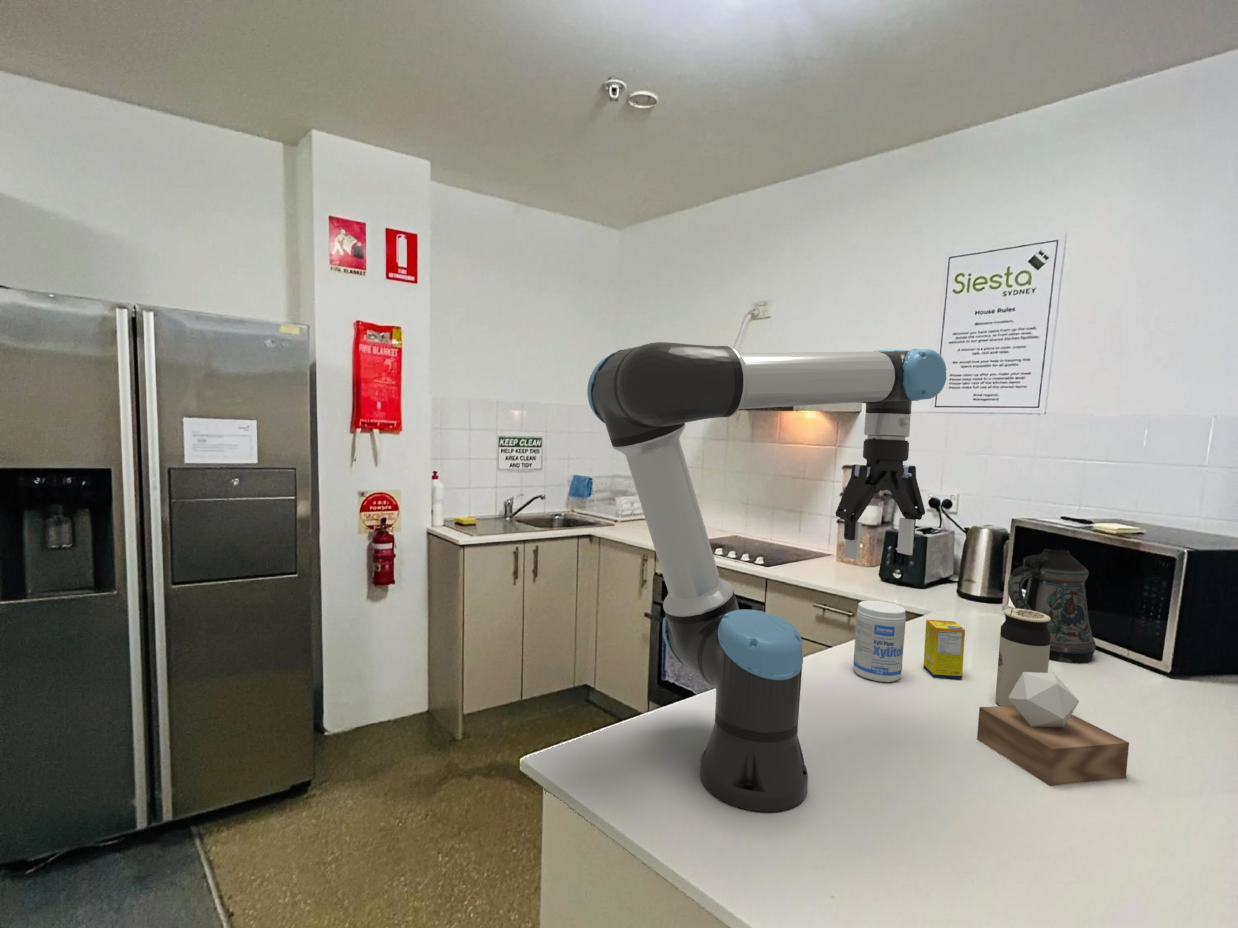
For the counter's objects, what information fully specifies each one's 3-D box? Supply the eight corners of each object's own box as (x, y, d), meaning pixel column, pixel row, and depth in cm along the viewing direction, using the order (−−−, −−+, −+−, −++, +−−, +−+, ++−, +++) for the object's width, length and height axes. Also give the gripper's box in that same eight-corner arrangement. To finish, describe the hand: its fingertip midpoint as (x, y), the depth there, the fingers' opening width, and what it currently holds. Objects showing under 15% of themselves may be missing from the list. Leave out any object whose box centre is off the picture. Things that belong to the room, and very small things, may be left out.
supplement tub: (876, 686, 129) (881, 614, 128) (842, 668, 137) (847, 601, 136) (912, 680, 132) (916, 610, 131) (877, 663, 141) (881, 598, 140)
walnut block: (1049, 788, 94) (1052, 748, 93) (976, 741, 107) (979, 707, 107) (1125, 780, 97) (1129, 742, 97) (1045, 736, 111) (1048, 702, 110)
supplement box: (950, 669, 139) (954, 620, 139) (962, 680, 134) (966, 628, 133) (922, 667, 140) (925, 618, 139) (932, 678, 134) (936, 626, 133)
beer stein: (1106, 656, 152) (1115, 552, 150) (1071, 671, 141) (1081, 559, 140) (1030, 636, 166) (1037, 540, 164) (993, 648, 155) (1001, 546, 153)
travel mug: (1048, 707, 121) (1055, 614, 120) (1040, 720, 116) (1047, 622, 115) (1000, 694, 127) (1007, 605, 126) (990, 706, 121) (997, 612, 120)
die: (1075, 745, 96) (1097, 689, 99) (1022, 712, 97) (1045, 657, 100) (1040, 739, 104) (1061, 687, 106) (991, 708, 105) (1013, 657, 108)
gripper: (852, 437, 105) (844, 564, 106) (951, 440, 116) (943, 555, 117) (819, 435, 111) (812, 555, 113) (915, 439, 123) (908, 548, 124)
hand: (878, 556), depth 115 cm, fingers open, 13 cm apart
